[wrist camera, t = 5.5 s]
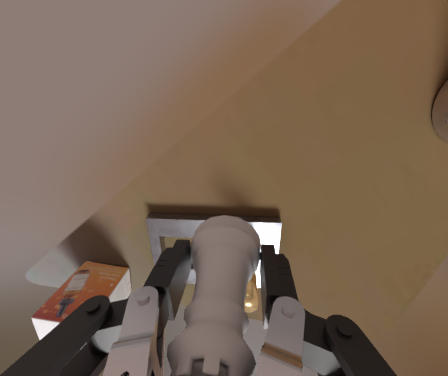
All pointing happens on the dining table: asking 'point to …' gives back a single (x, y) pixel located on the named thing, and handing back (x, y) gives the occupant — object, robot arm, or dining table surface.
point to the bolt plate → (187, 226)
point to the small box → (82, 293)
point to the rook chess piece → (218, 301)
